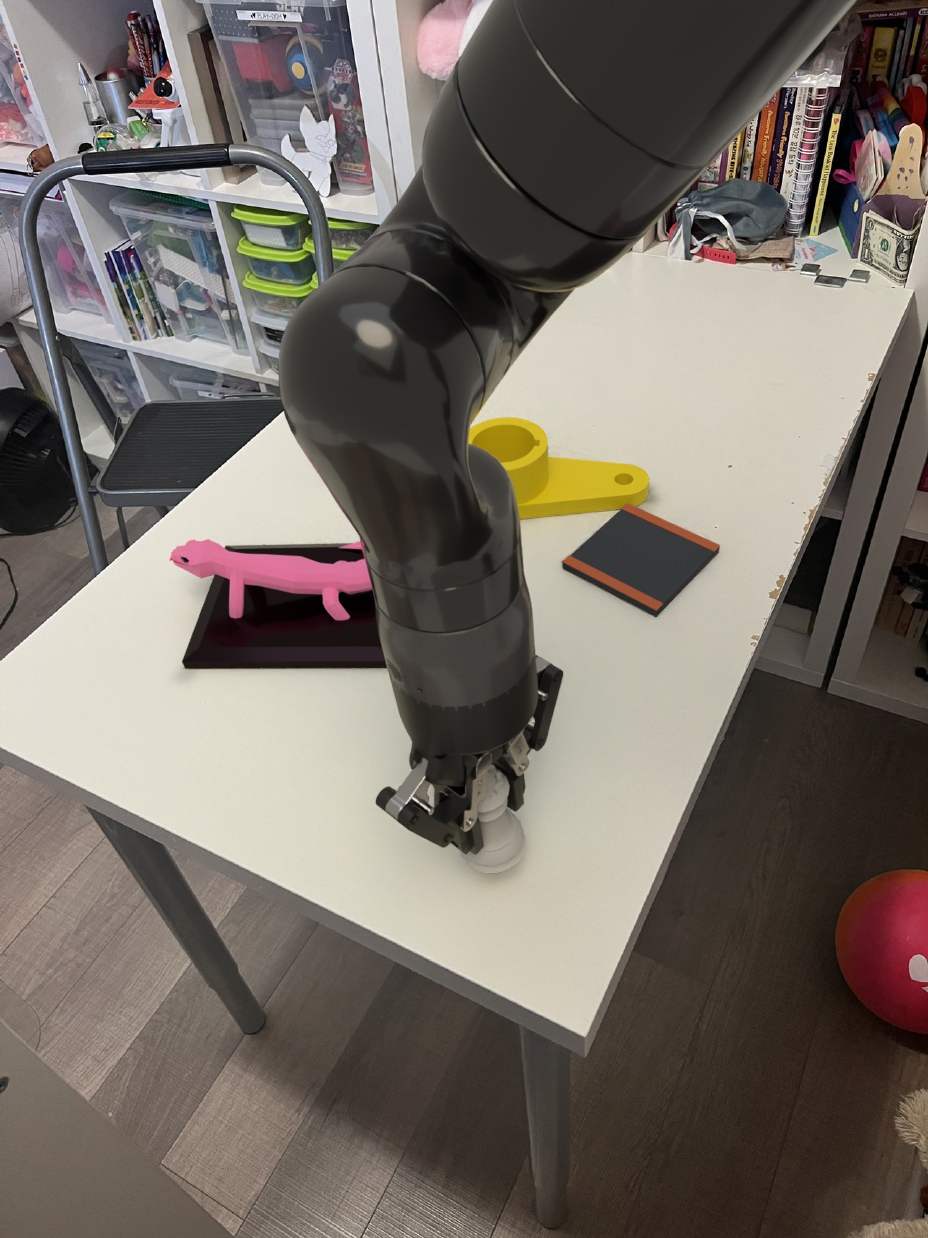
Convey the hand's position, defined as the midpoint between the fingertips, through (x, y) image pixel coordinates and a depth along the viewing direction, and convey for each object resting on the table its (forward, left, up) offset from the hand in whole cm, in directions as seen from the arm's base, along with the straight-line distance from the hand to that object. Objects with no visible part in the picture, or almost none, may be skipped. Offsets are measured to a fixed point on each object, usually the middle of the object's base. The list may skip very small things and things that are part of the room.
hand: (488, 821), depth 56 cm
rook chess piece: (0, 0, -3) cm, 3 cm away
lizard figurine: (+30, -8, -6) cm, 32 cm away
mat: (+9, -31, -6) cm, 33 cm away
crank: (+21, -34, -6) cm, 41 cm away
